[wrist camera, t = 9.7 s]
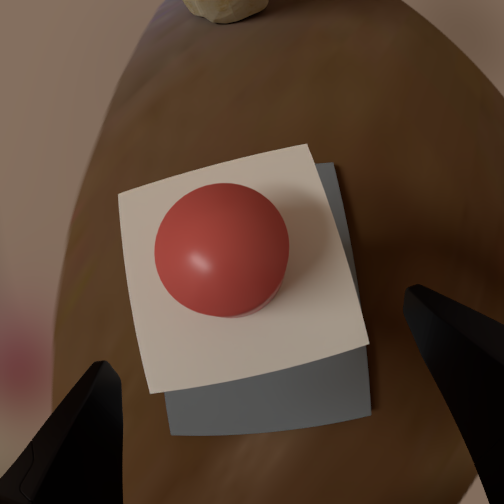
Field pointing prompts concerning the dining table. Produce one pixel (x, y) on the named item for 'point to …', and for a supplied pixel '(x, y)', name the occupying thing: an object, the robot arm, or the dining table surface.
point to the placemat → (282, 379)
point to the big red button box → (237, 271)
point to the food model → (225, 9)
